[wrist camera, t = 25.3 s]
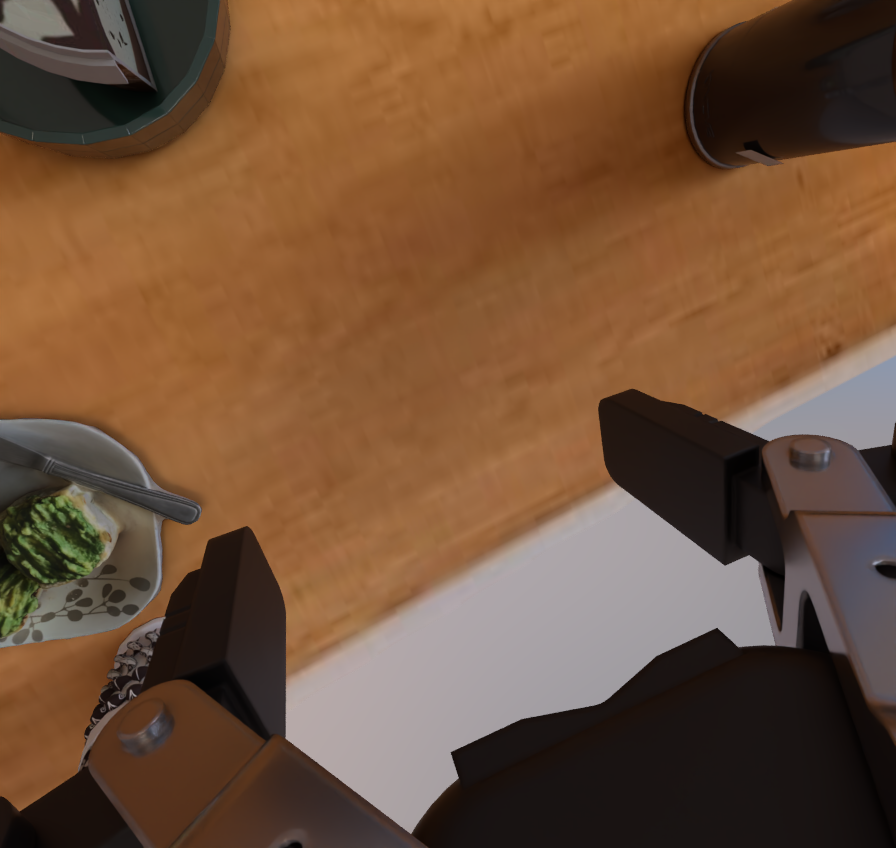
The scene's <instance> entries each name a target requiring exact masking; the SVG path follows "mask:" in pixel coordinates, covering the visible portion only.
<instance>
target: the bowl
mask: <svg viewBox="0 0 896 848" xmlns="http://www.w3.org/2000/svg"><path fill="white" fill-rule="evenodd" d="M128 1H129V4H130V7H131V10H132V14H133V17H134V20H135V23H136V26H137V29H138V32H139V35H140V38H141V42H142V45H143V48H144V51H145V54H146V57H147V60H148V63H149V66H150V69H151V73H152V76H153V79H154V82H155V85H156V88H157V91H158V92H137V91H130V90H124V89H120V88H117V87H113V86H110V85H107V84H101V83H94V82H87V81H80V80H75V79H72V78H68V77H65V76H61V75H58V74H54V73H51V72H48V71H45V70H43V69H41V68H39V67H36V66H34V65H32V64H30V63H27V62H25V61H23V60H20V59H18V58H17V57H15V56H13V55H11V54H10V53H8V52H6V51H5V50H3V49H1V48H0V133H1V134H4V135H6V136H9V137H12V138H14V139H17V140H20V141H23V142H25V143H28V144H32V145H35V146H38V147H42V148H45V149H49V150H52V151H55V152H59V153H62V154H65V155H69V156H75V157H93V158H111V159H113V158H120V157H125V156H130V155H134V154H139V153H143V152H148V151H152V150H154V149H156V148H158V147H160V146H161V145H163V144H165V143H167V142H169V141H171V140H172V139H174V138H175V137H177V136H179V135H181V134H182V133H184V131H186V130H187V129H188V128H189V127H190V126H191V125H192V124H193V123H194V122H195V121H196V120H197V119H198V117H199V116H200V115H201V114H202V112H203V111H204V110H205V109H206V108H207V107H208V106H209V104H210V102H211V100H212V98H213V95H214V93H215V91H216V89H217V86H218V84H219V82H220V80H221V77H222V75H223V73H224V69H225V66H226V58H227V51H228V44H229V36H230V27H231V26H230V16H229V7H228V0H128Z"/></svg>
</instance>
